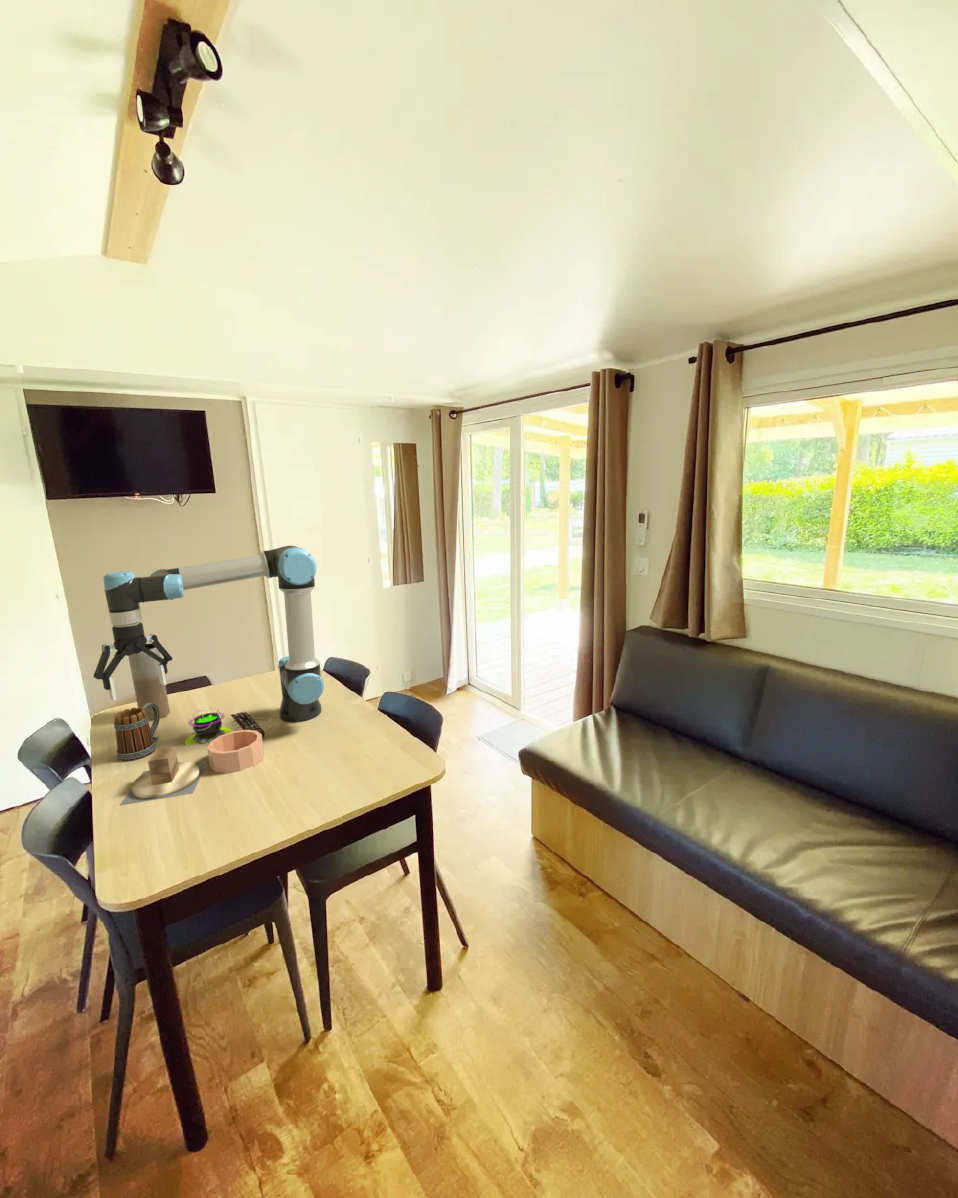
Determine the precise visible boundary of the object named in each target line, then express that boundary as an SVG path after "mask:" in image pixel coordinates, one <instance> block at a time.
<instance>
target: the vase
mask: <svg viewBox="0 0 958 1198" xmlns="http://www.w3.org/2000/svg"><path fill="white" fill-rule="evenodd" d="M145 647H146V648H148V649H149V650H151V651H152V652H154V653H155V654H157V655H158V656H160V657H161V653H160V652H159V651H158V650H157V649H156V647H155V646H154V645H153V644H152V643H151V642H150V643H146V644H145ZM127 657H128V663H129V667H130V672H131V676H132V682H133V689H134V693H135V699H136V704H137V708H138V707H141V708H142V707H143V706H144V705H145V704H147V703H154V704H156V705H157V706H158V708H159V711H160V719H161V718H164V717H166V716H168V715H169V714H170V712H171V710H170V705H169V699H168V693H167V687H166V686H167V685H162V684H160V680H159V674H158V668H157V664H160V663H159V662H158V661H156V660H155V659H153V658H152V657H150V656H149V655H147V654H146V653H144V652H143V651H141V652H140V653H138V654H132V655H130V656H127ZM147 716H148V717H149V720H148V722H149V721H153V720H154V712H153V709H152V707H149V708H148V710H147Z"/></svg>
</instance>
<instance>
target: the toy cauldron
mask: <svg viewBox="0 0 958 1198" xmlns="http://www.w3.org/2000/svg"><path fill="white" fill-rule="evenodd" d="M200 709H201V708H199V709H198V710H197V711H196V712H195V713H193V714H192V716H193V718H191V719H190V720H189V721H188V722H187V723H188V725H189V726H190V727H192V730H193V731H194V734H192V735H190V736H188V738H187V739H186V740H185V742H184V743H185V745H186V746H190V745H195V744H202V745H203V744H206V743H210V742H211V741H213V740H214V739H216V738H217V737H219V736H221V735H224V734H227V733H230V732H233V731H234V730H233V729H232V728H229V727H222V725H223V723H222V720H224V718H225V717H226V714H224V713H223V712H219V711H220V710H219V709H218V708H215V707H214V709H213V706H210V710H211V709H213V710H216V712H215V711H214V712H213V710H211V711H212V712H209V713H203V714H200V715H197V716H195V714H197V713H199V712H200V711H201V710H200ZM203 711H206V708H205V709H203ZM220 715H221V716H220Z"/></svg>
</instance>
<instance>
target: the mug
mask: <svg viewBox="0 0 958 1198" xmlns="http://www.w3.org/2000/svg"><path fill="white" fill-rule="evenodd" d="M149 707H152V709H153V712H154V720H152V724H151V726H150V724H149V721H148V720H149V717H148V716H147V710H148V708H149ZM160 719H161V718H160V711H159V708H158V706H157V705H156V704H154V703H147V704H145V705H144V706H143V707H142V708H141V707H138V706H137V708H136V707H131V708H130V709H129V708H126V709H124V710H121V711H118V712H117V713H115V714H114V722H113V724H114V726H113V727H114V730H115V739H116V749H117V750H116V756H117V758H118V761H121V762H134V761H137V760H141V759H144V758H146V757H148V756H150V755H153V754H154V752H155V751H156V750H157V748H156V745H157V744H156V743H157V742H158V740H159V736H158V735H157V736H156V735H155V732H156V731H157V728H158V726H159V724H160Z"/></svg>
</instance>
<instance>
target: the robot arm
mask: <svg viewBox="0 0 958 1198" xmlns="http://www.w3.org/2000/svg"><path fill="white" fill-rule="evenodd" d="M317 567H318V565H317V562H316V558H314V556H313V555H312V554H311V552H309V551H308V550H307V549H305V548H302V547H298V546H295V545H284V546H281V547H278V548H273V549H269V550H263V551H261V552H260V553H259V554H256V555H250V556H243V557H237V558H230V559H225V560H218V561H213V562H207V563H201V564H199V563H198V564H194V565H187V566H182V567H175V568H169V569H166V568H161V569H160V568H159V569H157V570H155V571H154V572H152V573H151V574H150V575H149V576H143V577H142V576H136V575H135V573H134V572H133V571H131V570H130V571H129V570H125V571H123V570H122V571H121V570H120V571H114V572H108V573H106V574H105V575H103V586H104V593H105V594H104V595H105V599H106V603H107V609H108V613H109V619H110V624H111V626H112V627H111V631H112V636H113V640H114V641H113V644H102V645H101V655H100V658H99V660H98V663H97V664H96V665H97V666H96V669H95V671H94V673H93V678H94V679H97V680H98V681H99V680H102V684H103V688H104V690H106V691H108V695H109V699H110V700H112V701H116V700H118V699H117V695H116V690H115V684H114V678H112V677H111V676H112V674H113V673H114V672H115V670H116V669H117V667H118V666H119V664H120V662H121V661H122V660H123V659H124V658H125V656H126V657H128V656H130V655H132V654H138V653H140V652H141V651H143V652H144V653H146V654H147V655H149V656H150V657H152V658H153V659H155V660H156V661H158V662H159V663H160V664H157V668H158V674H159V680H160V684H162V685H165V686H167V685H168V684H167V680H166V674H168V666H167V665H168V663H169V662H170V661H171V662H172V661H173V657H172V656H171V655H170V654H169V652H168V651H167V650H166V648H165V647H164V646H163V645H162V644H161V643H160V642H159V638H158V636H157V635H156V634H153V633H150V634H149V635H147V636H145V632H144V631H145V630H144V625H143V623H142V621H143V619H142V614H141V608H140V603H141V604H142V603H147V602H148V603H149V602H150V603H151V602H156V601H157V602H159V601H160V602H161V601H168V600H169V601H170V600H171V601H172V600H173V601H174V600H176V599H182V598H183V597H184V596H185V592H184V591H187V590H191V589H192V590H193V589H196V588H197V589H199V588H202V587H203V588H205V587H209V586H214V585H220V584H228V583H233V582H237V581H243V580H249V579H250V580H251V579H255V578H256V579H257V578H259V577H266V578H267V579H271V578H277V581H278V589H279V590H280V591H281V592H282V593H283V597H284V599H283V600H284V609H285V610H284V611H285V623H286V636H287V649H288V650H287V651H288V655H287V656H284V657H282V658H280V659H279V660H278V669H279V678H280V687H281V694H282V696H281V697H282V698H281V703H280V708H279V711H278V712H279V718H280V720H281V721H283V722H287V723H299V722H304V721H308V720H312V719H314V718H316V717H317V716H320V714H321V713H322V704H321V702H320V700H319V699H320V697H322V695H323V693H324V691H325V683H324V682H325V681H324V679H323V678H322V677H321V676H322V675H321V661H320V660H319V659H317V658H316V653H315V638H314V622H313V621H314V620H313V609H312V608H313V607H312V594H311V592H312V590H314V588H315V587H316V583H315V575H316V574H317V570H318V569H317ZM147 642H149V643H150V644H151V643H152V644H153V645H154V646H155V647H156V649H157V650H158V651H159V652H160V656H158V655H157V654H155V653H154V652H152V651H151V650H149V649H148V648H146V647H145V644H147ZM114 649H115V650H117V651H116V652H115V653H114V655H113V658H112V659H111V661H110V662H109V659H110V655H111V653H112V652H113V650H114ZM161 656H162V657H161ZM108 662H109V664H108ZM107 664H108V665H107ZM106 666H107V667H106Z"/></svg>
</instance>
